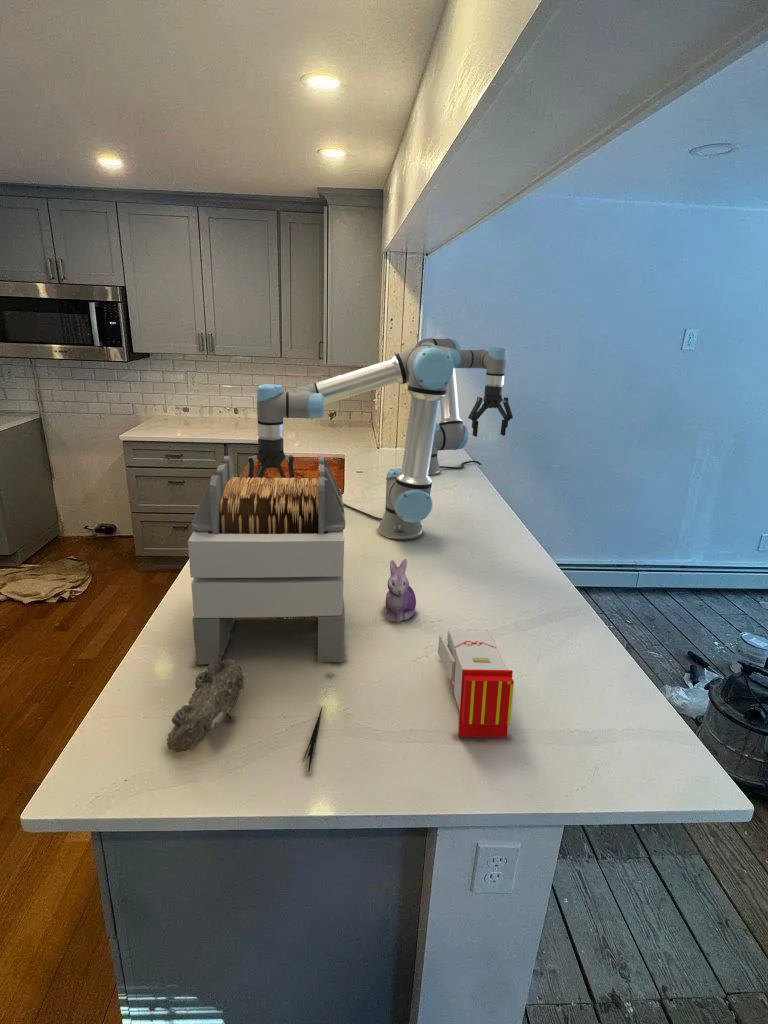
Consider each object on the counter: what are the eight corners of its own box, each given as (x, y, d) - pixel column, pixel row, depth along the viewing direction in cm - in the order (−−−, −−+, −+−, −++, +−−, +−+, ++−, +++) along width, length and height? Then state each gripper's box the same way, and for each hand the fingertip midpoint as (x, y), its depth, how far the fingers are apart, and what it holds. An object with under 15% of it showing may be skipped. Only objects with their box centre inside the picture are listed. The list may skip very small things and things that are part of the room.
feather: (331, 679, 122) (336, 673, 122) (307, 777, 96) (313, 769, 95) (324, 675, 122) (329, 669, 121) (298, 772, 95) (304, 764, 95)
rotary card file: (219, 592, 154) (209, 445, 140) (339, 591, 158) (342, 448, 144) (193, 667, 122) (178, 487, 108) (344, 663, 126) (348, 488, 112)
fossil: (192, 660, 117) (244, 628, 112) (224, 691, 120) (276, 661, 115) (142, 746, 98) (202, 712, 93) (182, 779, 101) (242, 748, 96)
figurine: (392, 627, 141) (395, 572, 136) (374, 608, 149) (376, 556, 144) (425, 619, 145) (429, 566, 140) (405, 601, 154) (408, 550, 149)
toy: (488, 613, 130) (523, 677, 101) (484, 667, 133) (517, 744, 104) (435, 612, 130) (455, 676, 101) (432, 666, 133) (451, 743, 103)
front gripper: (301, 434, 176) (301, 503, 184) (235, 435, 170) (237, 507, 177) (306, 439, 169) (305, 511, 177) (237, 440, 163) (239, 515, 171)
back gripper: (515, 384, 244) (509, 432, 252) (463, 384, 237) (458, 434, 244) (524, 386, 238) (518, 436, 245) (471, 386, 230) (466, 438, 237)
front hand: (271, 509), depth 177 cm, fingers closed on small box, 7 cm apart
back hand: (488, 435), depth 244 cm, fingers open, 13 cm apart
